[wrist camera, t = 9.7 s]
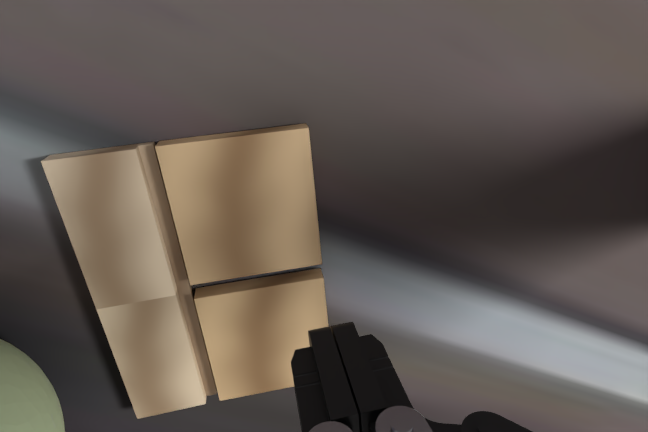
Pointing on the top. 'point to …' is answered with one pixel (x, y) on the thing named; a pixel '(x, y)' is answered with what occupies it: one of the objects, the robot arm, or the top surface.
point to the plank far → (259, 329)
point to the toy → (26, 395)
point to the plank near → (242, 201)
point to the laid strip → (134, 272)
